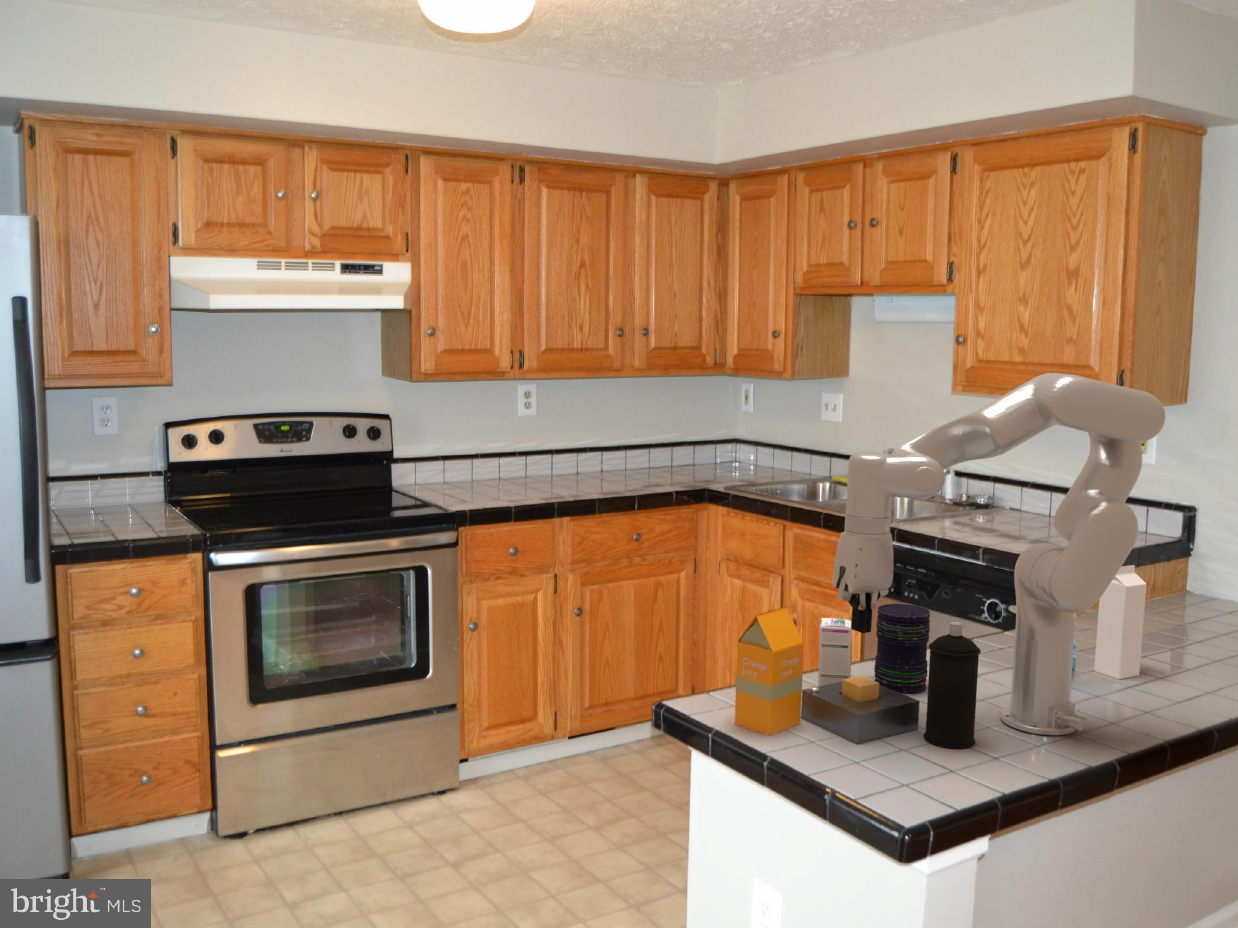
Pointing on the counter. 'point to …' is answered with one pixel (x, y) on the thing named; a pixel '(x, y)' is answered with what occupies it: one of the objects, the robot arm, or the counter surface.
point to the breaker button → (860, 689)
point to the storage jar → (902, 648)
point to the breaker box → (860, 713)
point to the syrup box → (834, 650)
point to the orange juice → (769, 673)
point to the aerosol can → (952, 690)
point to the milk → (1121, 625)
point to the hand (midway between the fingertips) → (860, 630)
